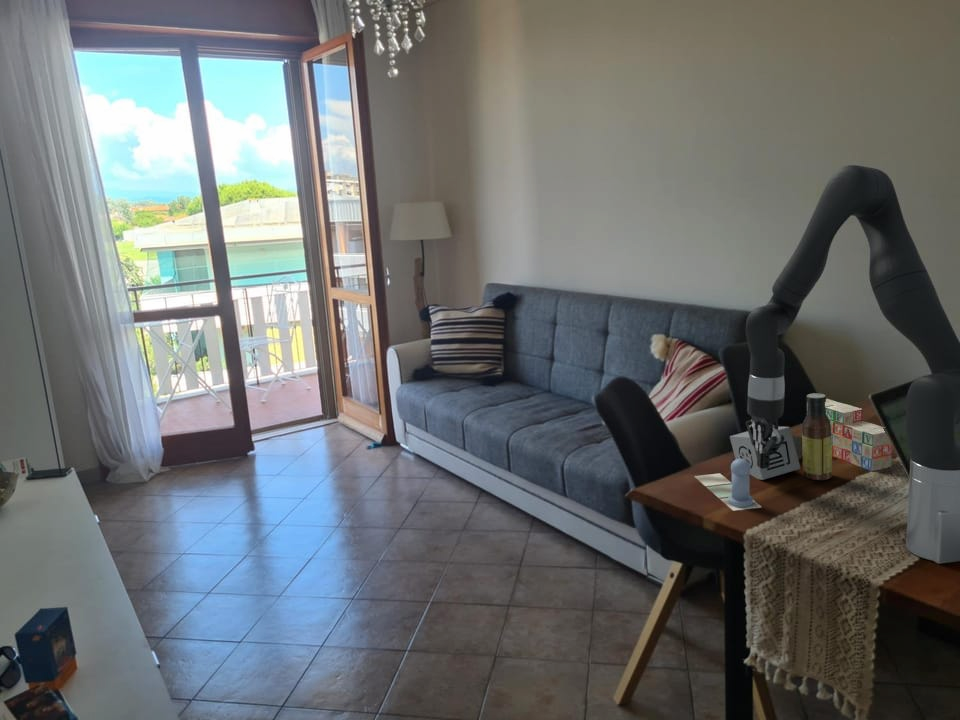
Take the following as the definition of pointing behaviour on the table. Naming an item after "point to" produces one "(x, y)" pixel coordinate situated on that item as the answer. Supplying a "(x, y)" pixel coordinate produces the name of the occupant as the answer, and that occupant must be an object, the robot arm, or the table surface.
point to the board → (721, 489)
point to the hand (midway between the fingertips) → (762, 467)
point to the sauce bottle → (817, 440)
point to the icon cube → (778, 462)
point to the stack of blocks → (857, 437)
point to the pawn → (740, 484)
